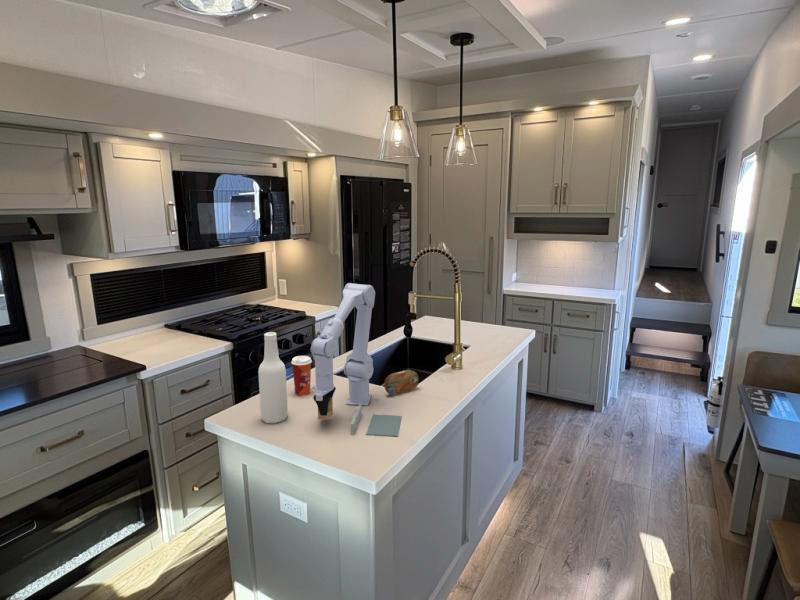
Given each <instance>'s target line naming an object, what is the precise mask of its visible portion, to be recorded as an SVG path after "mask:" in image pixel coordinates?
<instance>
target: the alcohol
mask: <svg viewBox="0 0 800 600" xmlns="http://www.w3.org/2000/svg"><path fill="white" fill-rule="evenodd" d="M277 335H278V334H277V332H275V331H269V332H266V333H264V334H263V336H264V337H263V339H264V352H263V353H264V355H263V361H262V362H261V363H260V364H259V367H258V371H257V373H258V388H259V401H260V402H259V403H260V404H259V405H260V419H261V420H262V421H263V422H264V423H266V422H267V423H266V424H278V423H277V422H279V423H281V421H282V422H284V421H285V420H286V419H287V418H288V415H289V413H288V411H289V410H288V391H287V390H288V388H287V369H286V366H285V363H284V362H283V361H282V360H281V359H280V357H279V348H278V342H277V340H278V339H277V338H278V336H277ZM283 420H284V421H283Z"/></svg>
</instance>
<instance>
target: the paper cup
mask: <svg viewBox="0 0 800 600" xmlns="http://www.w3.org/2000/svg"><path fill="white" fill-rule="evenodd" d="M290 363H291V365H292V374H293V382H294V383H293V384H294V391H295V395H297V396H303V395H304V396H308V395H309V394H310V393H311V377H312V376H311V374H312V373H311V372H312V370H311V369H312V363H313V360H312V358H311V357H310V356H308V355H297V356H294V357H293V358H292V360H291V362H290Z"/></svg>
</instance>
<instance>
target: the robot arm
mask: <svg viewBox="0 0 800 600" xmlns="http://www.w3.org/2000/svg"><path fill="white" fill-rule="evenodd" d="M375 297H376V291H375V288H374V286H372V285H371V284H362V283H361V284H360V283H359V284H358V283H352V282H348V283H347V284H345V286H344V288H343V290H342V300H341V302H340V304H339V307H338V309H337V311H336V313H335V315H334V317H333V318H330V319H328V321H327V323H326V325H325V326H324V328H323V329H322V331H321V333H320V335H319V336H318V337H317V338H314V339H313V340H312V342H311V347H310V353H311V354H312V357H313V360H314V369H315V370H314V371H315V372H314V373H315V384H312V387H311V388H312V389H314V390H315V393H316V394H314V395H313V396H312V399H313V401H314V402H315V404H316V406H317V410H318V409H319V413H320V415H321V416H326V415H327V412H328V405H329V401H330V398H332V399H333V397H334V394H335V392H336V390H337V388H336V386H335V384H334V363H333V362H334V361H333V356H334V355H335V354H336V353H337V346H338V340H339V339H340V337H341V335H342V333H343V331H344V328H345V326H344V323H345V321H346V319H347V318H348V316H349V314H350V313H351V312H352V310H353V309H354V307H355V308H356V311H357V312H356V318H355V319H356V320H355V329H354V338H353V347H352V352H351V353H349V354H348V355H346V359H345V361H344V365H343V373H344V375H345V376H346V379H348V399H347V401H346V403H345V404H346V405H347V406H349V405H350V406H351V405H353V406H359V405H362V406H368V405H369V402H370V401H371V398H372V396H373V395H372V393H370V379H371V378H372V376H373V373H374V359H373V358H372V357H371V356H370V354H369V353H368V348H369V347H368V346H369V339H370V329H371V322H372V321H371V319H372V310H373V308H374V307H375V306H374V305H375V299H376V298H375Z"/></svg>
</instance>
